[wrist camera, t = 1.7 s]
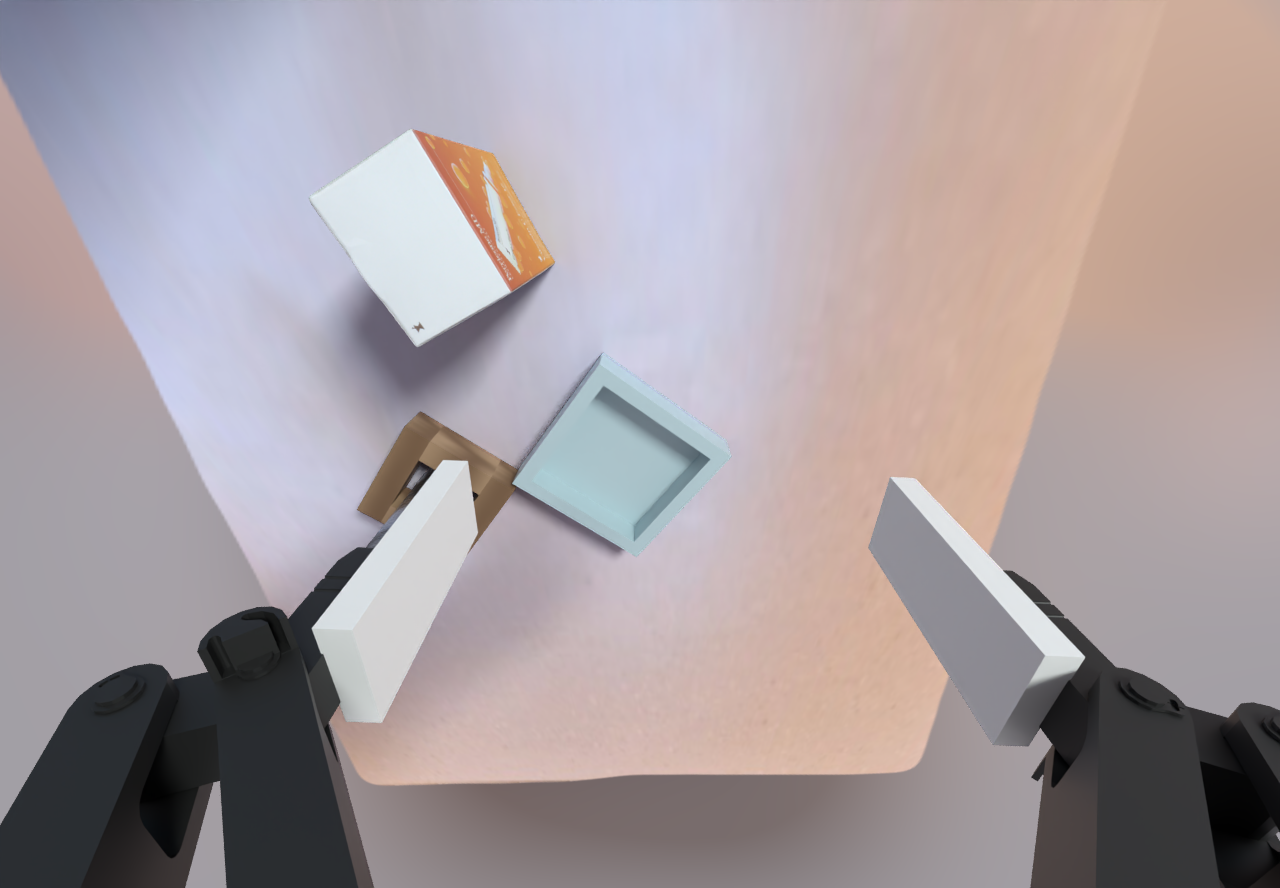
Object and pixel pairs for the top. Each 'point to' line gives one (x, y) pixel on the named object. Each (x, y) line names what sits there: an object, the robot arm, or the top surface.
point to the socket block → (431, 448)
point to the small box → (432, 231)
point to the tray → (621, 458)
